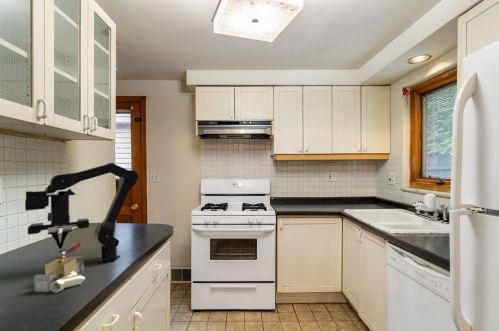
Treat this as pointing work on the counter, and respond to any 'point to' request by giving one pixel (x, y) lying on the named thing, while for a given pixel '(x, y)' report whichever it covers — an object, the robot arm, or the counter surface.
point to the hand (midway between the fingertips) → (60, 248)
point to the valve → (57, 272)
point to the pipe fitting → (67, 281)
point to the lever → (67, 250)
